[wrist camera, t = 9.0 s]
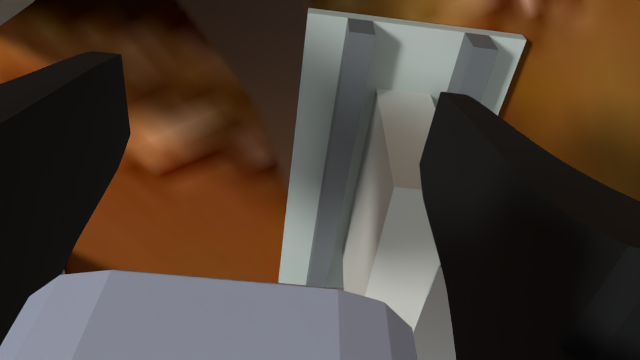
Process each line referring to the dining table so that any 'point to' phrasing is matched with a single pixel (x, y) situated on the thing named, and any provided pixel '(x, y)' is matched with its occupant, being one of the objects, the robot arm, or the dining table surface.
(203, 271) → the dining table surface
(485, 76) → the track
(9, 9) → the travel mug
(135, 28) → the dining table surface
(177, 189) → the dining table surface
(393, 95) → the door panel
